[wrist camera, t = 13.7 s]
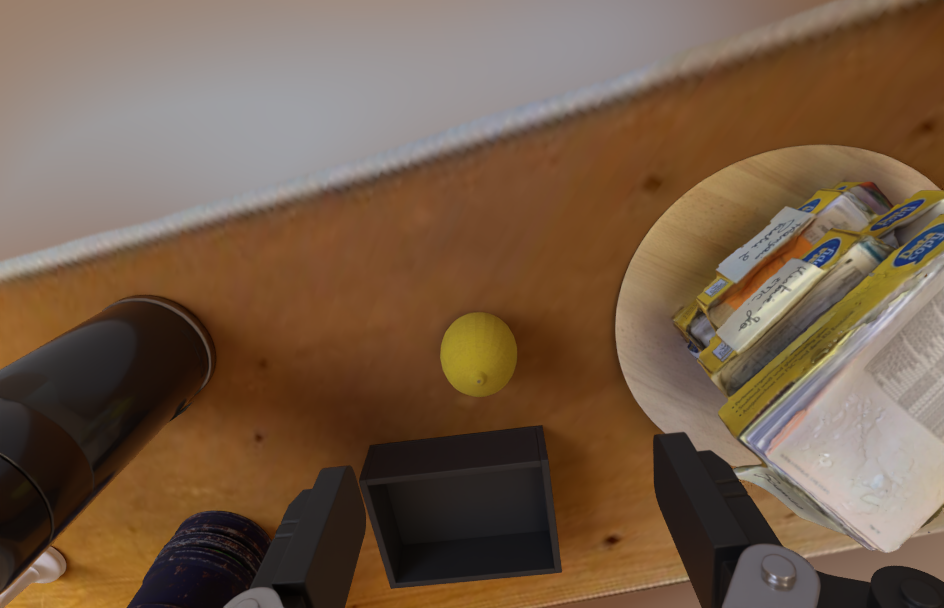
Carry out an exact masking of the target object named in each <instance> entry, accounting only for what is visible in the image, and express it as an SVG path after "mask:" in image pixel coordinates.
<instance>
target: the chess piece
mask: <svg viewBox="0 0 944 608" xmlns="http://www.w3.org/2000/svg"><path fill="white" fill-rule="evenodd" d="M65 570H66V562H65V559H64V557H63V556H62V555H61V554H60V553H59V552H58V551H57V550H56V549H54V548H53V547H51V546H50V547H49V548H48V549H47V550H46V551H45V552H44V553H43V554H42V555H41V556H40V557H39V558H38V559H37V560H36V561H35V562H34V563H33V565H32V566H31V567H30V568H29V569H28V570H27V571H26V572H25V573H24V574H23V575H22V576H21V577H20V578H19V579H18V580H17V581H16V582H15V583H14V584H13V585H12V586H11V587H10V588H8V589H7V590H6V591H5V592H4V593H2V594H1V595H0V608H4V607H5V606H6V605H7V604H8V603H9V602H11V601H12V600H13V599H14V598H15V597H16V596H17V595H18V594H19V593H21V592H22V591H23V590H24V589H25V588H26V587H27V586H29V585H30V584H31V583H35V582H36V583H49V582H53V581H55V580H56V579H58V578H59V577H60V576H61V575H62V574H63V573H64V572H65Z"/></svg>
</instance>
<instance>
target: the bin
mask: <svg viewBox="0 0 944 608" xmlns="http://www.w3.org/2000/svg"><path fill="white" fill-rule="evenodd" d="M359 484H360V487H361V490H362V494H363V497H364V500H365V504H366V507H367V510H368V514H369V517H370V521H371V524H372V527H373V531H374V534H375V537H376V541H377V544H378V547H379V551H380V554H381V557H382V561H383V564H384V567H385V571H386V574H387V577H388V581H389V584H390V587H391V589H393V588H404V587H414V586H425V585H436V584H446V583H457V582H468V581H478V580H489V579H499V578H510V577H521V576H531V575H542V574H553V573H561V572H562V568H561V560H560V552H559V543H558V535H557V527H556V519H555V511H554V502H553V494H552V486H551V478H550V470H549V461H548V455H547V450H546V444H545V438H544V433H543V427H542V425H541V426H533V427H524V428H516V429H507V430H498V431H490V432H481V433H473V434H464V435H455V436H447V437H438V438H430V439H421V440H412V441H404V442H395V443H387V444H378V445H370V447H369V450H368V453H367V457H366V460H365V463H364V466H363V469H362V472H361V475H360V478H359Z"/></svg>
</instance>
